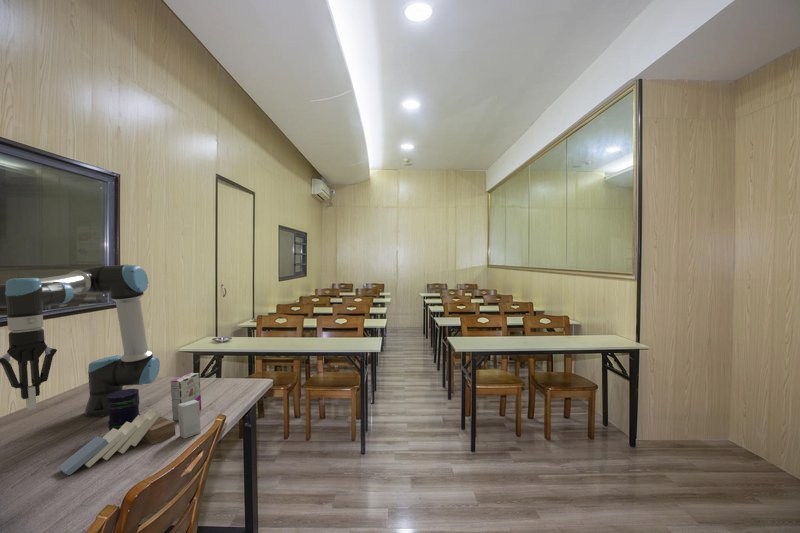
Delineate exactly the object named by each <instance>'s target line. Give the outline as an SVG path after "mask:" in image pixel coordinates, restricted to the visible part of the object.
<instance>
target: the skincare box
mask: <svg viewBox="0 0 800 533" xmlns="http://www.w3.org/2000/svg"><path fill="white" fill-rule="evenodd" d="M178 413H179V421H178V424H179V425H178V426H179V436H180V437H181V438H182V439H187V438H190V437H192V436H195V435H198V434H200V433H201V414H200V411H199V402H198V401H196V400H192V401H188V402H185V403H182V404H178Z"/></svg>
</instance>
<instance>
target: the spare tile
mask: <svg viewBox="0 0 800 533" xmlns="http://www.w3.org/2000/svg"><path fill="white" fill-rule="evenodd" d="M107 444H109V443H108V442H107V440H106V439H104V438H103V437H101V436H98V435H96V436H95V437H94V438H93V439H91V440H90V441H89V442H87V443H86V444H85V445H84V446H82V447H81V448H79V450H77V451H76V452H75V453H73V454H72V455H71V456H69V457H68V458H67V459H66V460H64V461H63V462H62V463H61V464H60V465H58V466H57V469H58V471H60V472H61V471H62V472H61V473H63V474H64V475H66V474H67V475H66V476H68V475H70V476H71V475H72V474H73V473H74V472H76V471H77V470H78V469H79V468H80V467H82V466H83V464H84V463H85V462H87V461H88V460H89V459H90V458H92V457H93V456H94V455H95V454H96V453H98V452H99V451H100V450H101V449H103V448H104V447H105V446H106V445H107Z"/></svg>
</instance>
